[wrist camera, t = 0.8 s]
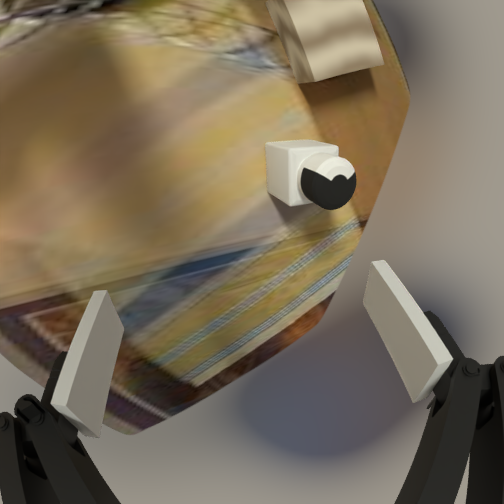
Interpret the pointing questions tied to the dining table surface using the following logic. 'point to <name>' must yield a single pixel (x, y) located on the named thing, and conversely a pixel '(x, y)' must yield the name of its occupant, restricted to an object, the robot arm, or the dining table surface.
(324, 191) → the medicine bottle
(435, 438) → the robot arm
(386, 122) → the dining table surface
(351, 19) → the birch block
